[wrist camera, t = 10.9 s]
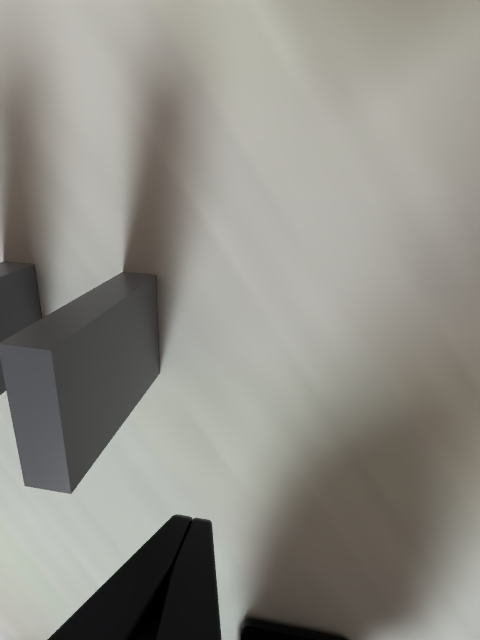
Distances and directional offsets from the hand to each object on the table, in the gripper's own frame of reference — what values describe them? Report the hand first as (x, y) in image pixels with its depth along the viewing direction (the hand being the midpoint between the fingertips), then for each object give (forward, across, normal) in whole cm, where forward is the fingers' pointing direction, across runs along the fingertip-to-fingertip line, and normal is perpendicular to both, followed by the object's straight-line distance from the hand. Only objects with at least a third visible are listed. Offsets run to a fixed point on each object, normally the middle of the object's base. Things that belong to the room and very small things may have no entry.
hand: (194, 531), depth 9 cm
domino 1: (+11, +6, 0) cm, 12 cm away
